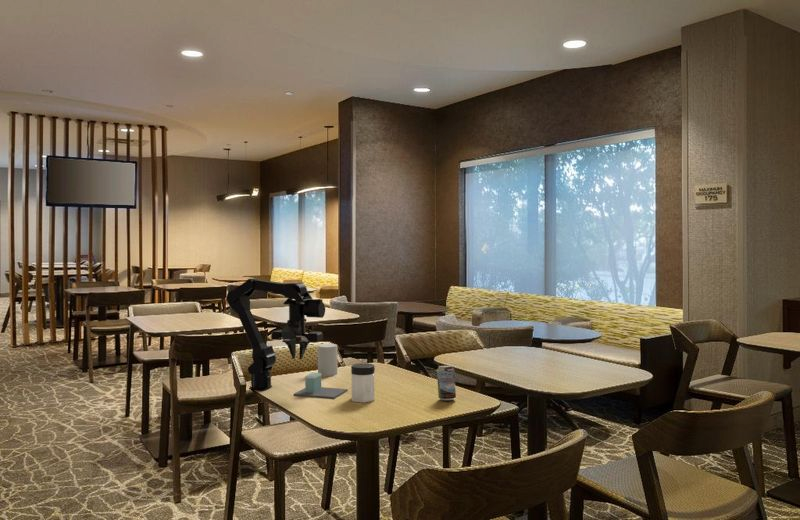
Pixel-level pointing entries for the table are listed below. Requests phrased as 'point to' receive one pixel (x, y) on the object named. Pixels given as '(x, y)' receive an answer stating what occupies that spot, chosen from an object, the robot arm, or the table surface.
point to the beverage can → (446, 382)
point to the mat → (322, 393)
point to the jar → (362, 382)
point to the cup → (327, 359)
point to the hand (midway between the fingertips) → (297, 358)
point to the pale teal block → (313, 382)
